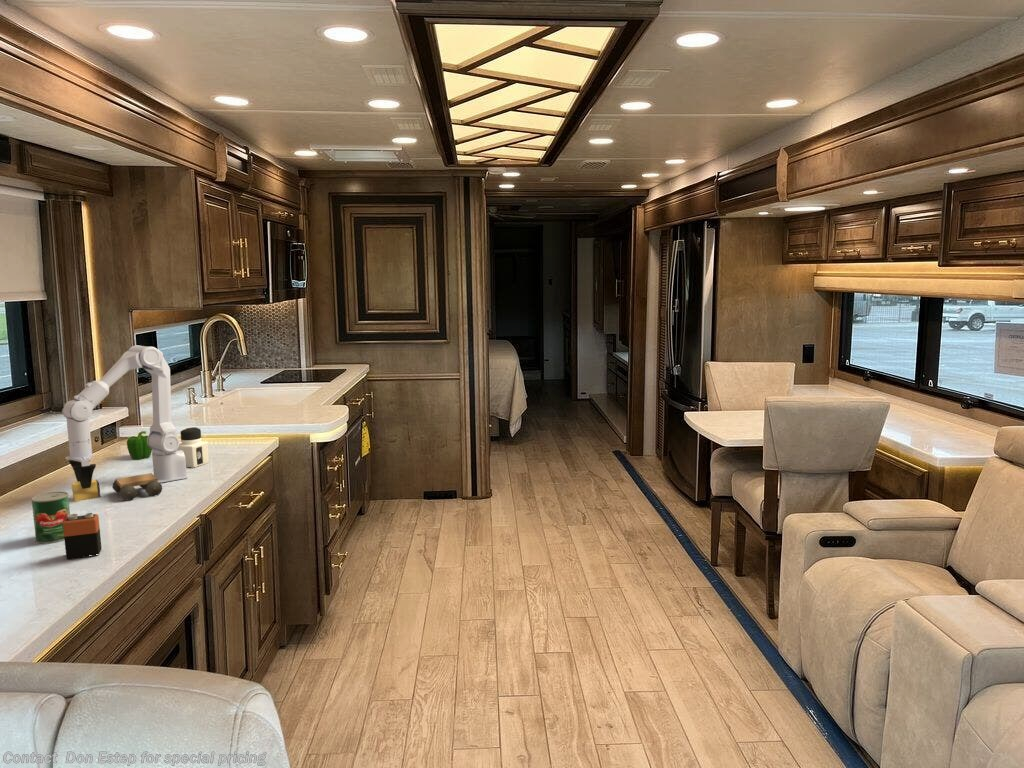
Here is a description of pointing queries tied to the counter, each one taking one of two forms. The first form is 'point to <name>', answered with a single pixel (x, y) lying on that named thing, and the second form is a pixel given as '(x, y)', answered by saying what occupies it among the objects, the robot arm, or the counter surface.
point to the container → (193, 447)
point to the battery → (82, 535)
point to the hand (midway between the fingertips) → (84, 485)
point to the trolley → (144, 481)
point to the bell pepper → (139, 446)
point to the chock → (85, 491)
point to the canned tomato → (50, 516)
